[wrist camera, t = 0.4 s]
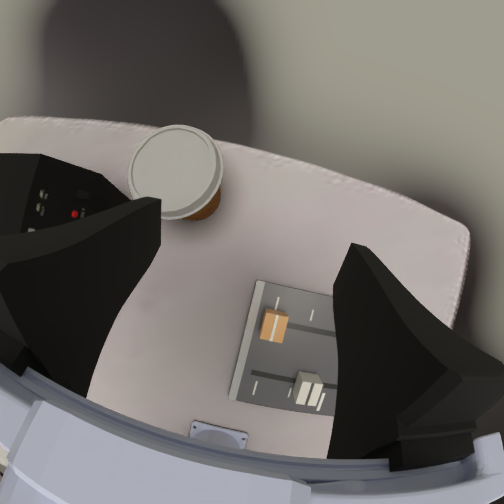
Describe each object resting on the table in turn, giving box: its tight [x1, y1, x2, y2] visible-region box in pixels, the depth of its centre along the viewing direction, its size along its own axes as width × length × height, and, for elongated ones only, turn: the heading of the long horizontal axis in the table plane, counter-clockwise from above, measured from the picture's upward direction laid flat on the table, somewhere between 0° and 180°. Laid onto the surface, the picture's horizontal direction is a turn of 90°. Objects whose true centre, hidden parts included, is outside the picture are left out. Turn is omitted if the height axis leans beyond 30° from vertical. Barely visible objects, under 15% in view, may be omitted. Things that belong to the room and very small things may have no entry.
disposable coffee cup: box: [128, 125, 223, 220], centre depth 31 cm, size 10×10×12 cm
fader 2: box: [293, 371, 323, 406], centre depth 32 cm, size 3×2×4 cm
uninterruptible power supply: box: [0, 153, 131, 236], centre depth 27 cm, size 16×34×20 cm, turn 78°
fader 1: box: [260, 308, 289, 343], centre depth 32 cm, size 3×2×4 cm
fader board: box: [228, 280, 338, 416], centre depth 35 cm, size 16×16×2 cm
